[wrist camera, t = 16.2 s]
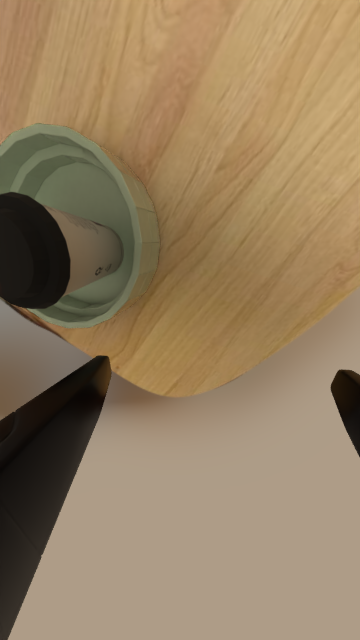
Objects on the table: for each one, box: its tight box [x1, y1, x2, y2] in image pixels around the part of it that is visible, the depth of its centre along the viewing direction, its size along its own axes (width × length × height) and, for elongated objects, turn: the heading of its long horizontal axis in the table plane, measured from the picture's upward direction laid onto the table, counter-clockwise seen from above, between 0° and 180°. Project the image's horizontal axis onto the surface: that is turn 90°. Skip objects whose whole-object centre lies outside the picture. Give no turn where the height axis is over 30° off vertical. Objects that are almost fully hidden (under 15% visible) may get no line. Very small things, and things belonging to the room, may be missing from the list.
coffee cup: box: [0, 192, 124, 309], centre depth 17 cm, size 7×7×10 cm
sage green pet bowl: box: [0, 123, 160, 328], centre depth 21 cm, size 15×15×4 cm
